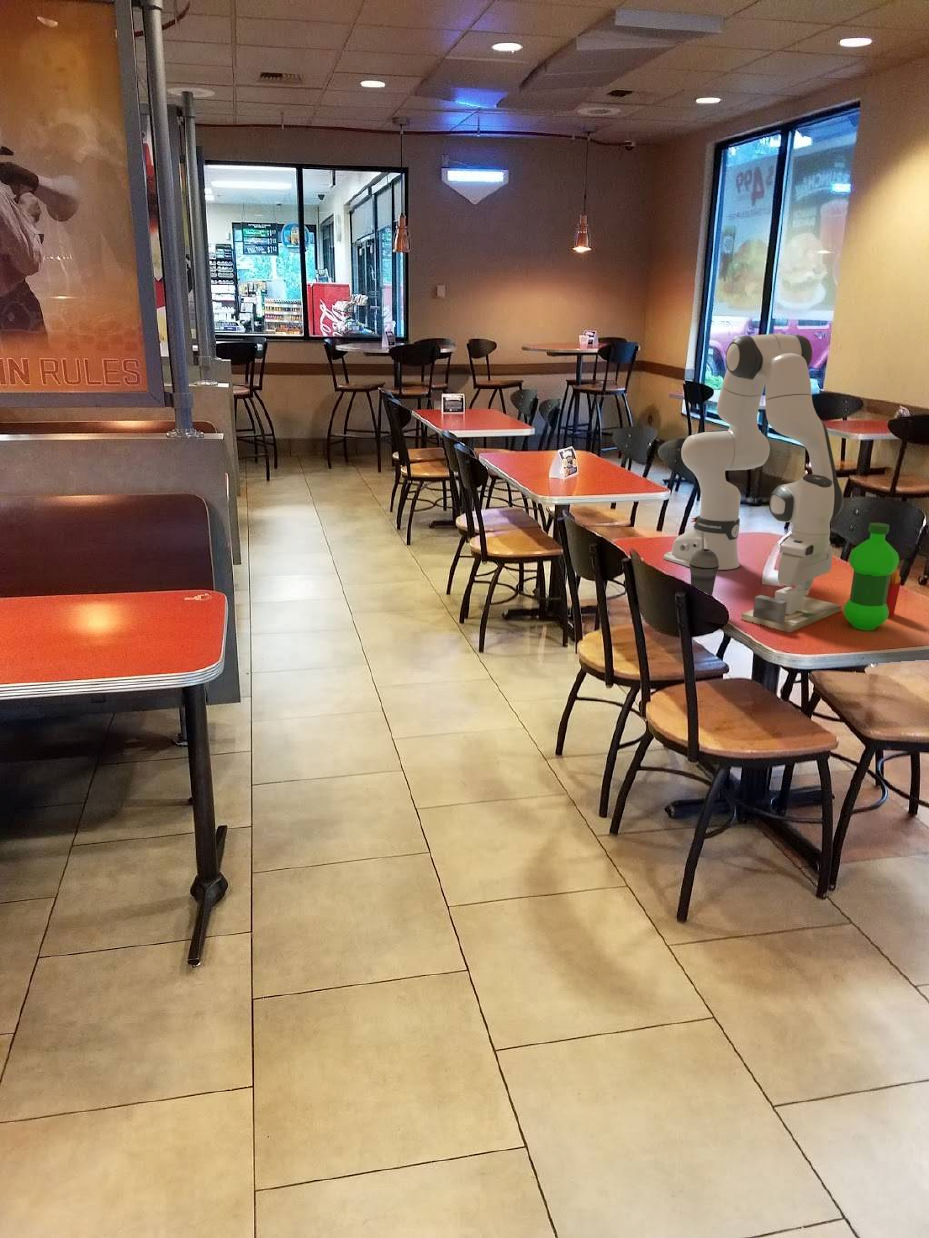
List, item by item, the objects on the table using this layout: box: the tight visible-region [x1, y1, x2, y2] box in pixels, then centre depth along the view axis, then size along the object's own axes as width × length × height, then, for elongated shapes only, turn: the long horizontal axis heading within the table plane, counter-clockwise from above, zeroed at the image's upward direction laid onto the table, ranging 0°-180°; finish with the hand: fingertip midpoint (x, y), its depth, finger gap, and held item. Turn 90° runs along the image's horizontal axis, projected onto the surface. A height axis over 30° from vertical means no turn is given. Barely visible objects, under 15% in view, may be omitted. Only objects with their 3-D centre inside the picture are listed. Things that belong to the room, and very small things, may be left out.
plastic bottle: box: [843, 522, 900, 631], centre depth 216 cm, size 10×10×25 cm
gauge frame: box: [741, 594, 843, 634], centre depth 227 cm, size 13×25×6 cm, turn 132°
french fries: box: [886, 569, 902, 618], centre depth 228 cm, size 8×4×12 cm, turn 8°
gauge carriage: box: [774, 586, 811, 615], centre depth 223 cm, size 8×9×5 cm
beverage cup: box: [689, 531, 719, 596], centre depth 229 cm, size 7×7×20 cm
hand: (802, 596), depth 230 cm, fingers closed
